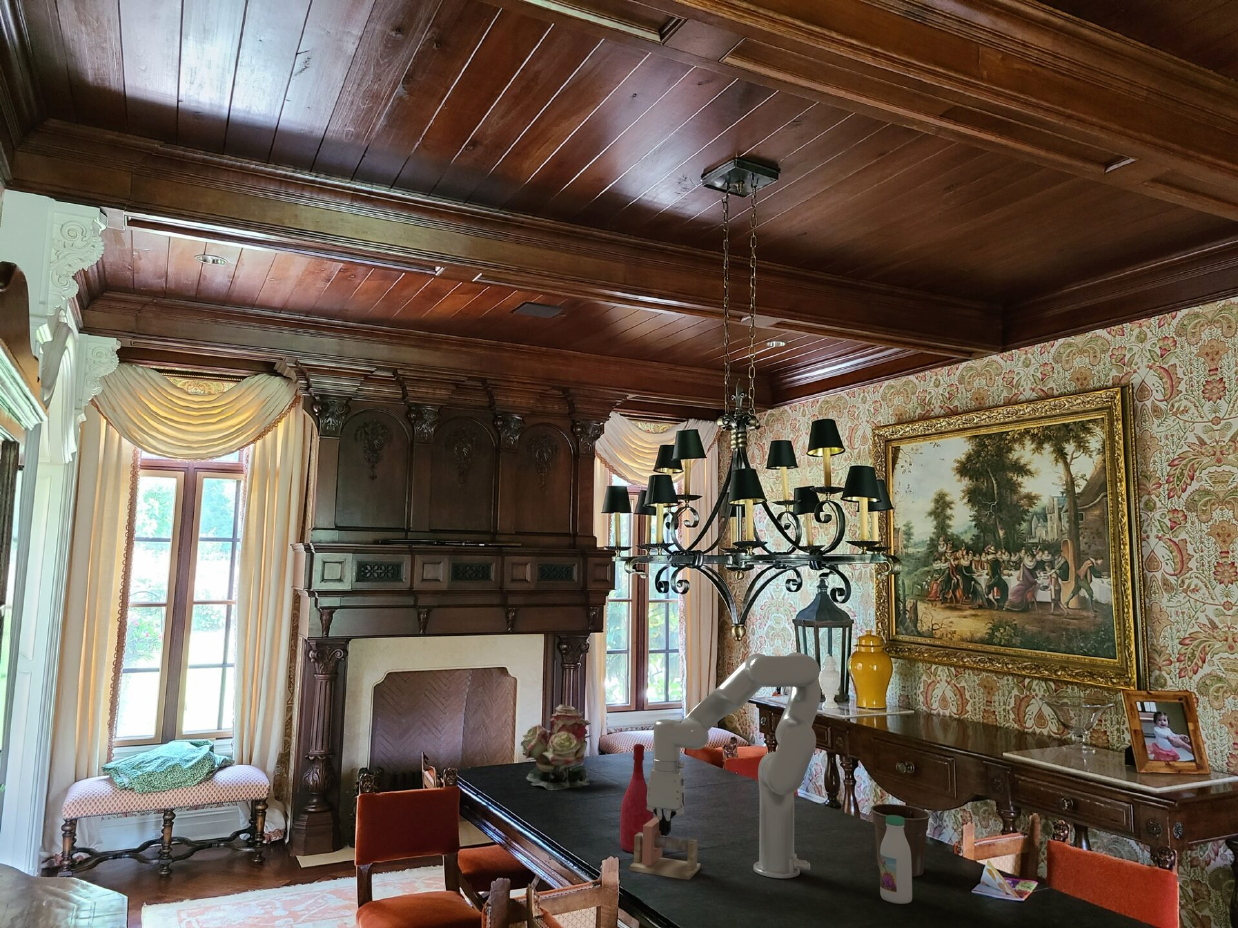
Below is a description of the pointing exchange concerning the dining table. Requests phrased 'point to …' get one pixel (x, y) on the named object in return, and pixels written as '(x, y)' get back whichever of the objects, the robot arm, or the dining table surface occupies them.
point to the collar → (650, 842)
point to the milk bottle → (895, 863)
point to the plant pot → (913, 830)
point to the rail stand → (663, 864)
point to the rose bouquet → (558, 750)
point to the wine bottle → (634, 803)
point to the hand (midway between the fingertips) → (664, 834)
